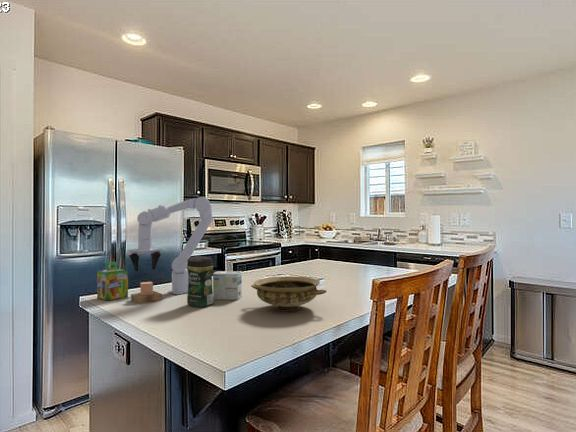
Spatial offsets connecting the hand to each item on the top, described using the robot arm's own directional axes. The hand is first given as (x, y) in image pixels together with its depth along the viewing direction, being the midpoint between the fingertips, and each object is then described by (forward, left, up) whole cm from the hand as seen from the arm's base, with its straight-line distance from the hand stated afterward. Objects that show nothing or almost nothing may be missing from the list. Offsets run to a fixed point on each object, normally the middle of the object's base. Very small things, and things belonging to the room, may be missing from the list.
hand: (145, 270), depth 160 cm
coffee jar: (-6, +35, -11) cm, 37 cm away
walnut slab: (+5, +12, -11) cm, 17 cm away
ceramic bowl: (-25, +63, -11) cm, 69 cm away
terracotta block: (+5, +12, -8) cm, 15 cm away
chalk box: (+13, -3, -11) cm, 17 cm away
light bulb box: (-20, +33, -11) cm, 40 cm away
